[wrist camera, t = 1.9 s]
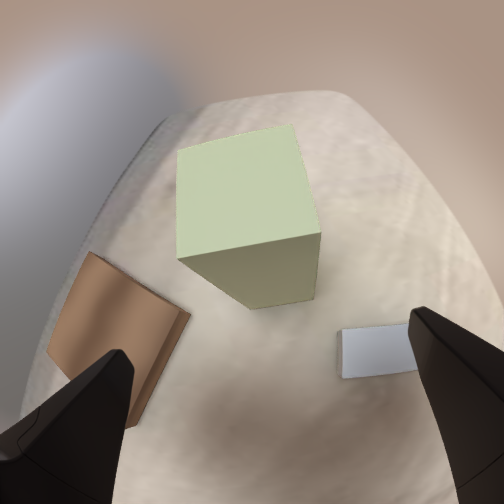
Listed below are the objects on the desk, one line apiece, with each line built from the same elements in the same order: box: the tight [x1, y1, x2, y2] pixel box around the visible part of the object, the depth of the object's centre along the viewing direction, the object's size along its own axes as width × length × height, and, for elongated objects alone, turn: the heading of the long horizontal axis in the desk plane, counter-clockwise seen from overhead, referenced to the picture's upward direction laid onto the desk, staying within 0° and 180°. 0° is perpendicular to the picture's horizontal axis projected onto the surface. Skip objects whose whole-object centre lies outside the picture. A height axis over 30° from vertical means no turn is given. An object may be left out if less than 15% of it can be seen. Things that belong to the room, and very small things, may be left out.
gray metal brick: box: [337, 323, 418, 379], centre depth 16 cm, size 6×3×3 cm, turn 89°
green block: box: [176, 124, 321, 310], centre depth 15 cm, size 4×4×12 cm
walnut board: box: [46, 251, 191, 429], centre depth 20 cm, size 11×11×2 cm
